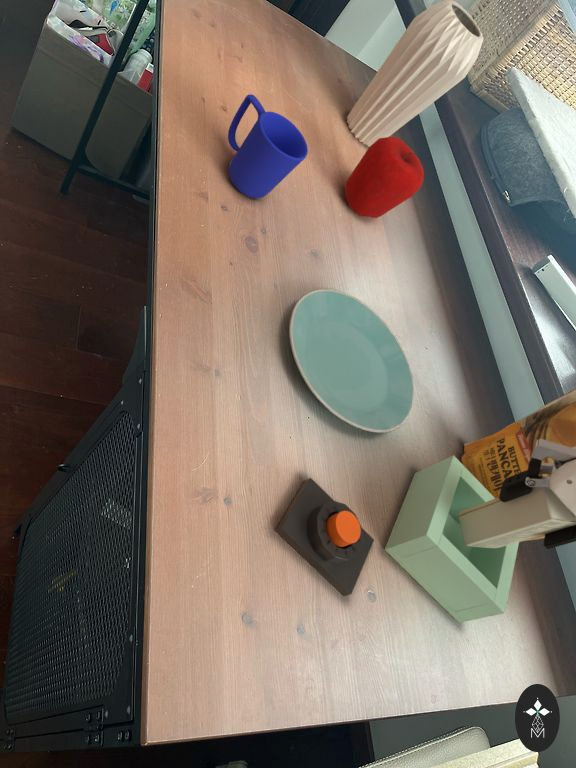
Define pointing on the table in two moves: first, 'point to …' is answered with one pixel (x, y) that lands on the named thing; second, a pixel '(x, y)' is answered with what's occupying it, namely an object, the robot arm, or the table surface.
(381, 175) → the apple
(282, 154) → the mug
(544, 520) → the cosmetic box
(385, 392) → the plate
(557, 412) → the pancake mix bag
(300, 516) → the block
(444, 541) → the mint green storage bin
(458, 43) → the vase
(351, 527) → the button
